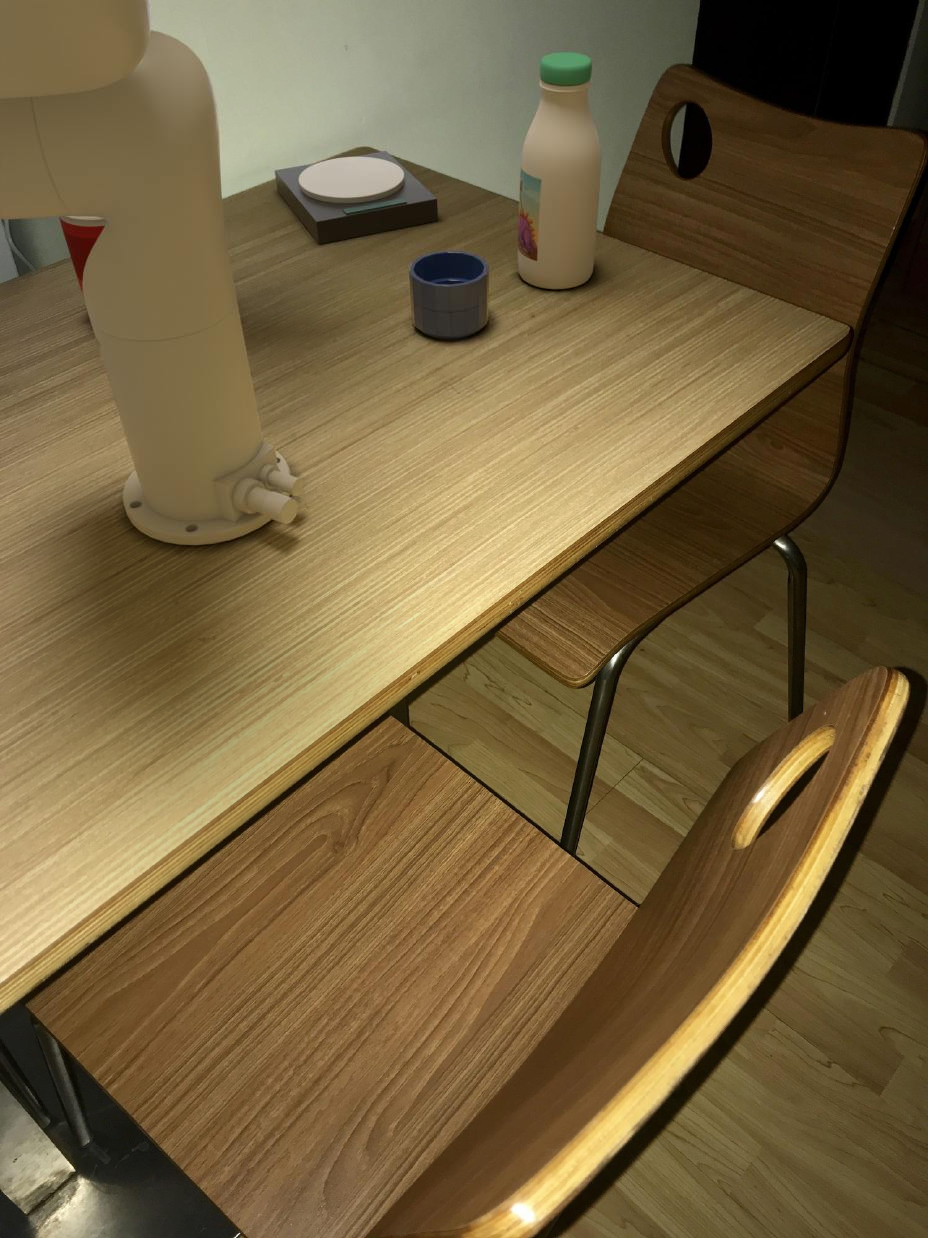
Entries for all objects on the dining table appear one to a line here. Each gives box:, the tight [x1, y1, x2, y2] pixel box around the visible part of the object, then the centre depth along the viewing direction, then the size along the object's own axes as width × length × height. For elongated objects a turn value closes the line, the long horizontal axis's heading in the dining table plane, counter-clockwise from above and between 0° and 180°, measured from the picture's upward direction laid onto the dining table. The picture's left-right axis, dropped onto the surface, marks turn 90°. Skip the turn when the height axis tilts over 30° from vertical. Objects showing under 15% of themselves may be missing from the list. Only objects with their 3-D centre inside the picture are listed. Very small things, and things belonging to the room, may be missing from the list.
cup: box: [408, 250, 490, 340], centre depth 93 cm, size 7×7×6 cm
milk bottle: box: [517, 51, 602, 290], centre depth 95 cm, size 8×8×20 cm
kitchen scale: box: [274, 150, 439, 245], centre depth 114 cm, size 16×14×3 cm
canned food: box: [58, 216, 107, 302], centre depth 93 cm, size 8×8×11 cm
